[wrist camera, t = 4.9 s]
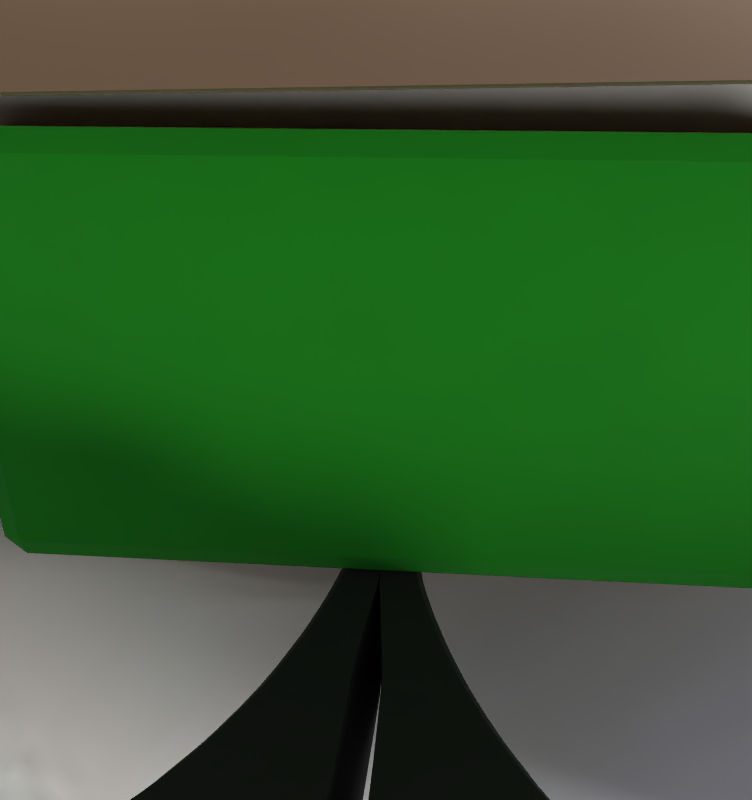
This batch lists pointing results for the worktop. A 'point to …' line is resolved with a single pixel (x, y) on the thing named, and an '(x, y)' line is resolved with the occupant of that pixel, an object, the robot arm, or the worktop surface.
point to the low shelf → (367, 44)
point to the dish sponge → (380, 349)
